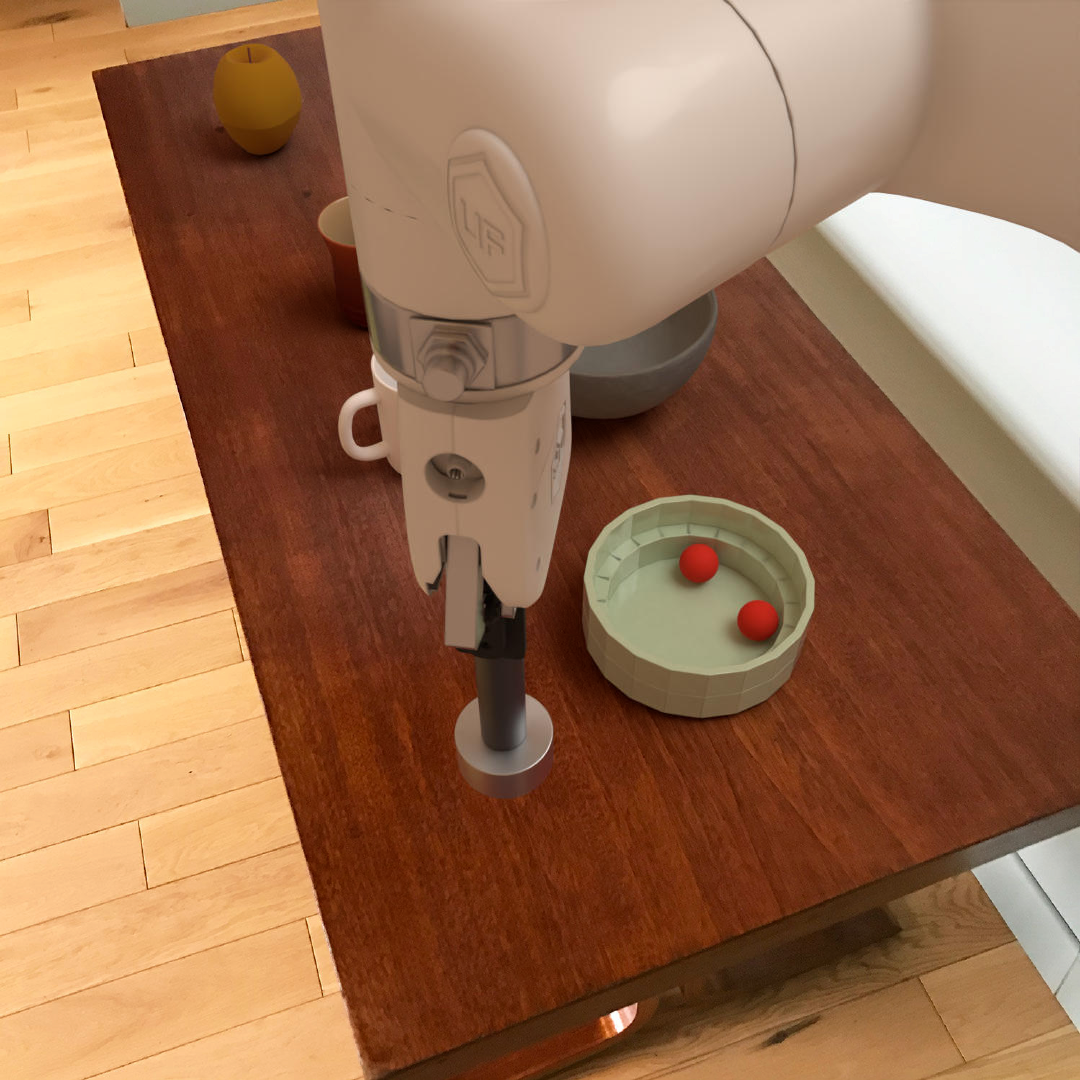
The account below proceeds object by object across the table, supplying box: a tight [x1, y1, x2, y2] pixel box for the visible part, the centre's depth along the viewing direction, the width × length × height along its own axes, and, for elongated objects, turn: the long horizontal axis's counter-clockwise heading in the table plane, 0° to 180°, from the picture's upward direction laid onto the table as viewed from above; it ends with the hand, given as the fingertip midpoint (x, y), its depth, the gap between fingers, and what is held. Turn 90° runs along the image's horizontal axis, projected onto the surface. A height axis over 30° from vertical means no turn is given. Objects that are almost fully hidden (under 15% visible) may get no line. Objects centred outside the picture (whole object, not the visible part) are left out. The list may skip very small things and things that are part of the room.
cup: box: [337, 353, 402, 476], centre depth 92 cm, size 8×12×10 cm
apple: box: [212, 43, 303, 156], centre depth 124 cm, size 10×10×12 cm
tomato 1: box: [679, 544, 719, 583], centre depth 85 cm, size 3×3×3 cm
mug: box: [316, 195, 368, 329], centre depth 105 cm, size 12×9×10 cm
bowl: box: [569, 288, 719, 420], centre depth 98 cm, size 20×20×10 cm
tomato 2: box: [737, 600, 779, 641], centre depth 82 cm, size 3×3×3 cm
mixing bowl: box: [581, 494, 816, 719], centre depth 81 cm, size 16×16×6 cm
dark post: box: [454, 579, 554, 800], centre depth 54 cm, size 5×5×18 cm
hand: (497, 621), depth 51 cm, fingers closed on dark post, 2 cm apart
